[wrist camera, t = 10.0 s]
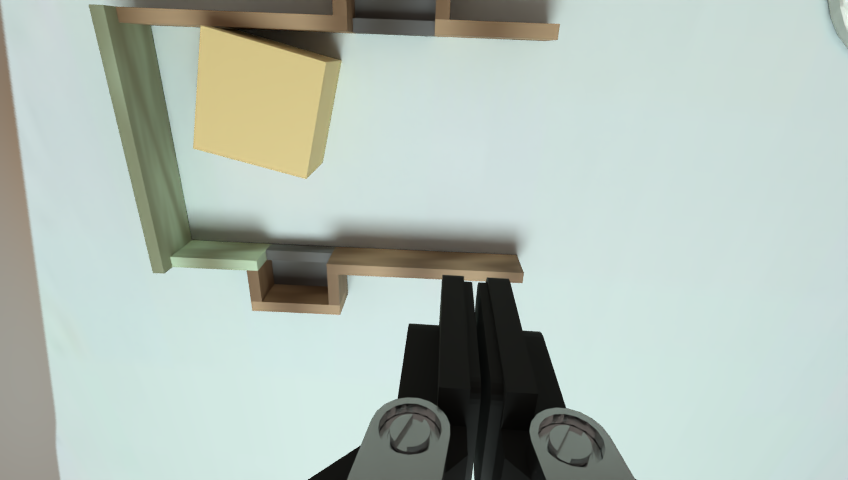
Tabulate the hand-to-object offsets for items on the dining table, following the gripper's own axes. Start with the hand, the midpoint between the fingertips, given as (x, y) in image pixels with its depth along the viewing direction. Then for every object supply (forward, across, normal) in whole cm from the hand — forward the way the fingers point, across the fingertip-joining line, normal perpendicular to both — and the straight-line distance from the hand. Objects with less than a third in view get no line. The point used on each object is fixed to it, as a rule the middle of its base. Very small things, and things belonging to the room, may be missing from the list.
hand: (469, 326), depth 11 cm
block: (+21, +12, -3) cm, 24 cm away
